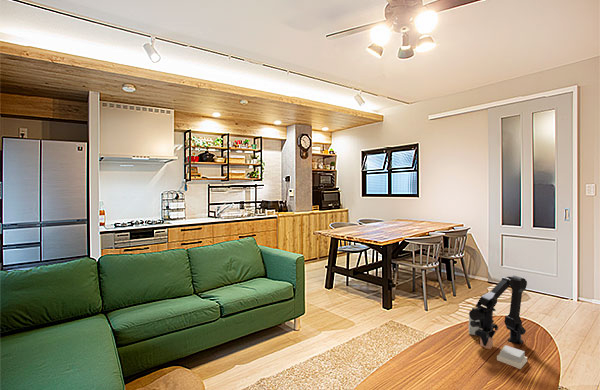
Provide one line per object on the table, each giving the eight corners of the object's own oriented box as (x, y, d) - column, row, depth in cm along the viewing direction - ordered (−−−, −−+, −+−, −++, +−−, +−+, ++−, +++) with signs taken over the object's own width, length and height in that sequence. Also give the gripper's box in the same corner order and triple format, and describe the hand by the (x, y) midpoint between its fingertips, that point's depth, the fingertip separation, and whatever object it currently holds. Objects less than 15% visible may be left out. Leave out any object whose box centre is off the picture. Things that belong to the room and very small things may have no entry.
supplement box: (468, 334, 202) (469, 314, 201) (468, 329, 208) (469, 310, 208) (482, 337, 198) (482, 317, 198) (481, 332, 205) (481, 312, 204)
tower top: (505, 350, 178) (505, 345, 178) (524, 356, 171) (524, 351, 171) (500, 356, 172) (500, 350, 172) (519, 363, 165) (519, 357, 165)
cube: (483, 343, 191) (483, 335, 191) (492, 346, 187) (492, 338, 187) (480, 346, 188) (480, 337, 187) (489, 349, 184) (489, 340, 184)
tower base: (504, 354, 180) (504, 349, 179) (527, 362, 171) (527, 357, 171) (496, 361, 173) (496, 355, 172) (520, 370, 164) (520, 364, 164)
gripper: (478, 309, 199) (478, 334, 199) (465, 318, 187) (465, 343, 187) (498, 315, 190) (498, 341, 191) (486, 324, 178) (485, 351, 179)
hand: (486, 344), depth 187 cm, fingers open, 5 cm apart
